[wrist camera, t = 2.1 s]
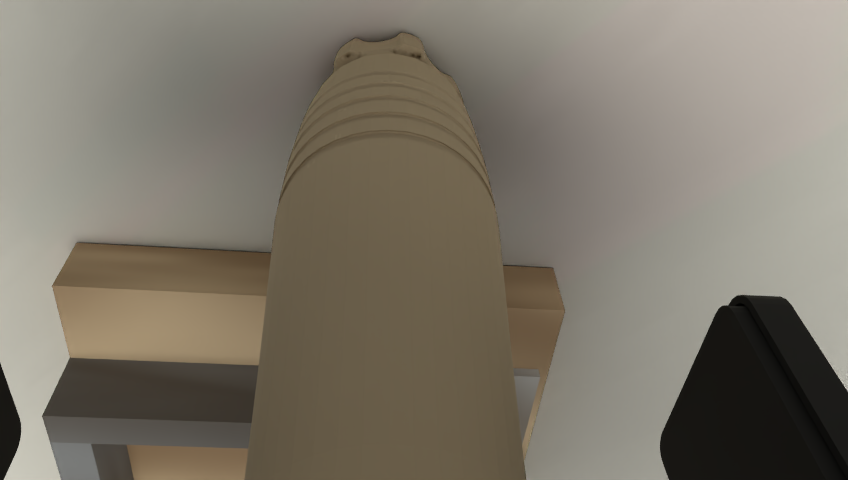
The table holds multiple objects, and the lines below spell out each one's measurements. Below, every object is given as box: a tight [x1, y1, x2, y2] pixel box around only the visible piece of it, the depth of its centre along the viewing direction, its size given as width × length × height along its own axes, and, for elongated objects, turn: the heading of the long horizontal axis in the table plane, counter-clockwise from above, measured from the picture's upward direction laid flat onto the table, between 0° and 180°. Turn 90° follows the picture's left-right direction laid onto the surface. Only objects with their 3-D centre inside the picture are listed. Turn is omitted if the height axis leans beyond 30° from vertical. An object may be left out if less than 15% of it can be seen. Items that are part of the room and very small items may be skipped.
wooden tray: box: [42, 243, 565, 480], centre depth 23 cm, size 14×13×4 cm
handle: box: [244, 33, 526, 480], centre depth 12 cm, size 5×6×15 cm
